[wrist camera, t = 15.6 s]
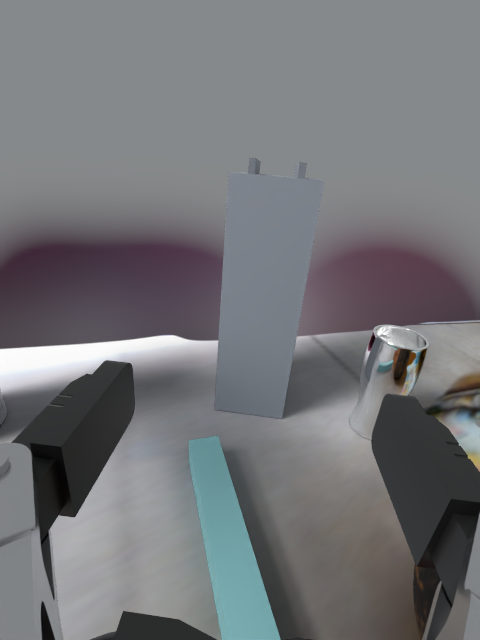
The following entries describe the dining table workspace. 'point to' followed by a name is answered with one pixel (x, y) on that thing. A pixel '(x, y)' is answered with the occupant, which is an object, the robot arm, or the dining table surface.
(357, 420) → the beer glass
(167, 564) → the dining table surface
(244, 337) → the tower
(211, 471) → the batten
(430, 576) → the glass bottle
